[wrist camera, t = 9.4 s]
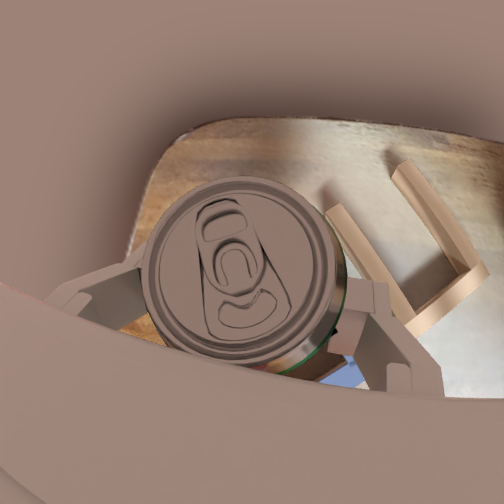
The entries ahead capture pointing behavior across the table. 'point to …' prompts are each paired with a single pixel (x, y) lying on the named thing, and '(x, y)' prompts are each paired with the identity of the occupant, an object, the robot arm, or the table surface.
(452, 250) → the duct rack
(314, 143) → the table surface
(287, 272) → the soda can
